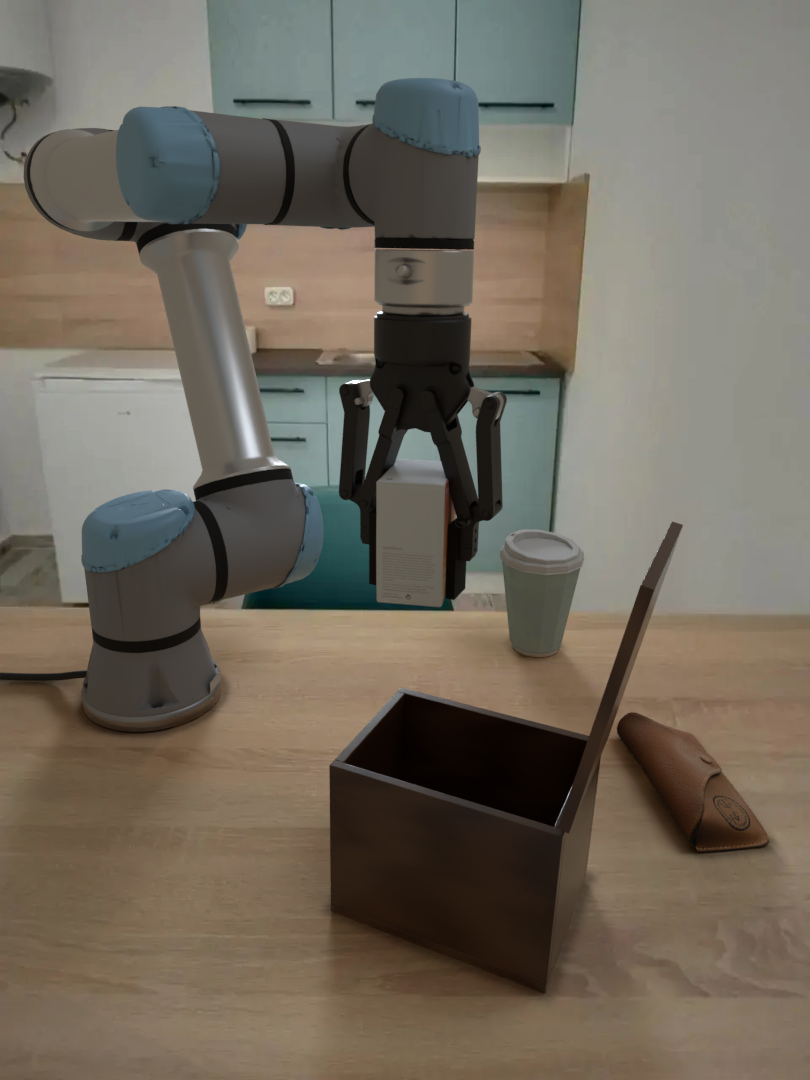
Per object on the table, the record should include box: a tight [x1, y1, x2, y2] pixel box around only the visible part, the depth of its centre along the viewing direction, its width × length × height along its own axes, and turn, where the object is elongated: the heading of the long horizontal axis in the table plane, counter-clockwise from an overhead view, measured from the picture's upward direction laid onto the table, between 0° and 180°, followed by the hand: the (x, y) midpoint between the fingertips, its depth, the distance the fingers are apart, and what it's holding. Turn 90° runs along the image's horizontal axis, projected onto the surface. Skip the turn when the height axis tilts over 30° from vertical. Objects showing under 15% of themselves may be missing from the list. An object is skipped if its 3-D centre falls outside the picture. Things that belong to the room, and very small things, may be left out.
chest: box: [328, 687, 602, 994], centre depth 66 cm, size 18×13×14 cm
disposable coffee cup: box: [498, 529, 585, 658], centre depth 107 cm, size 11×11×15 cm
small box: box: [375, 458, 457, 608], centre depth 70 cm, size 8×6×10 cm
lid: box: [558, 521, 684, 834], centre depth 56 cm, size 18×13×1 cm
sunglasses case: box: [616, 711, 771, 853], centre depth 81 cm, size 18×7×7 cm
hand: (416, 585), depth 71 cm, fingers closed on small box, 6 cm apart
